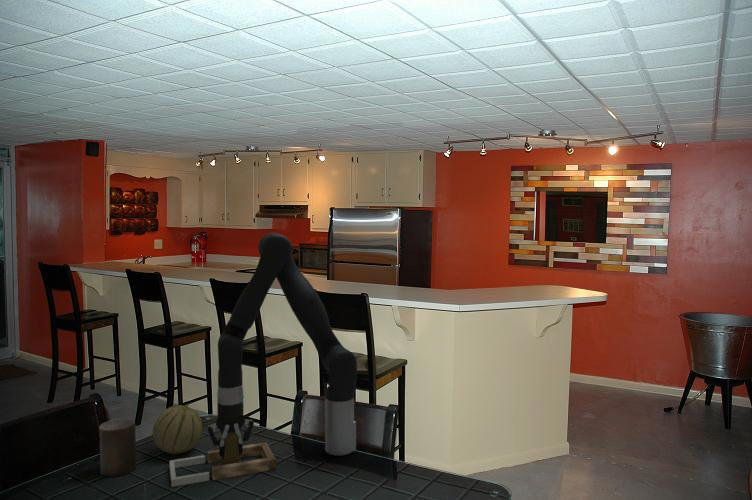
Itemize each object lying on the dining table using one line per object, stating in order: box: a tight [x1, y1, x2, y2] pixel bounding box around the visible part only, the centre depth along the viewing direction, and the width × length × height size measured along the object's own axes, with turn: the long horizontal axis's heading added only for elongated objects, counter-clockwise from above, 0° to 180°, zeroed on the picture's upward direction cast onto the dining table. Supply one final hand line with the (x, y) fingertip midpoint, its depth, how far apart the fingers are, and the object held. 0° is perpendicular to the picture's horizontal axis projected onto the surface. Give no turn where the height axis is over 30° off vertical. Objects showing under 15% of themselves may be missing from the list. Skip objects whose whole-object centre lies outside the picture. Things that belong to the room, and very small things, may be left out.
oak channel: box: [207, 442, 277, 481], centre depth 165 cm, size 18×14×3 cm
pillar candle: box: [98, 418, 137, 477], centre depth 161 cm, size 10×10×15 cm
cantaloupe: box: [152, 403, 203, 455], centre depth 173 cm, size 15×15×15 cm
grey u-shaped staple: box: [168, 455, 210, 488], centre depth 159 cm, size 10×13×2 cm
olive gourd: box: [220, 432, 242, 465], centre depth 163 cm, size 6×6×11 cm
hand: (230, 455), depth 163 cm, fingers closed on olive gourd, 4 cm apart
